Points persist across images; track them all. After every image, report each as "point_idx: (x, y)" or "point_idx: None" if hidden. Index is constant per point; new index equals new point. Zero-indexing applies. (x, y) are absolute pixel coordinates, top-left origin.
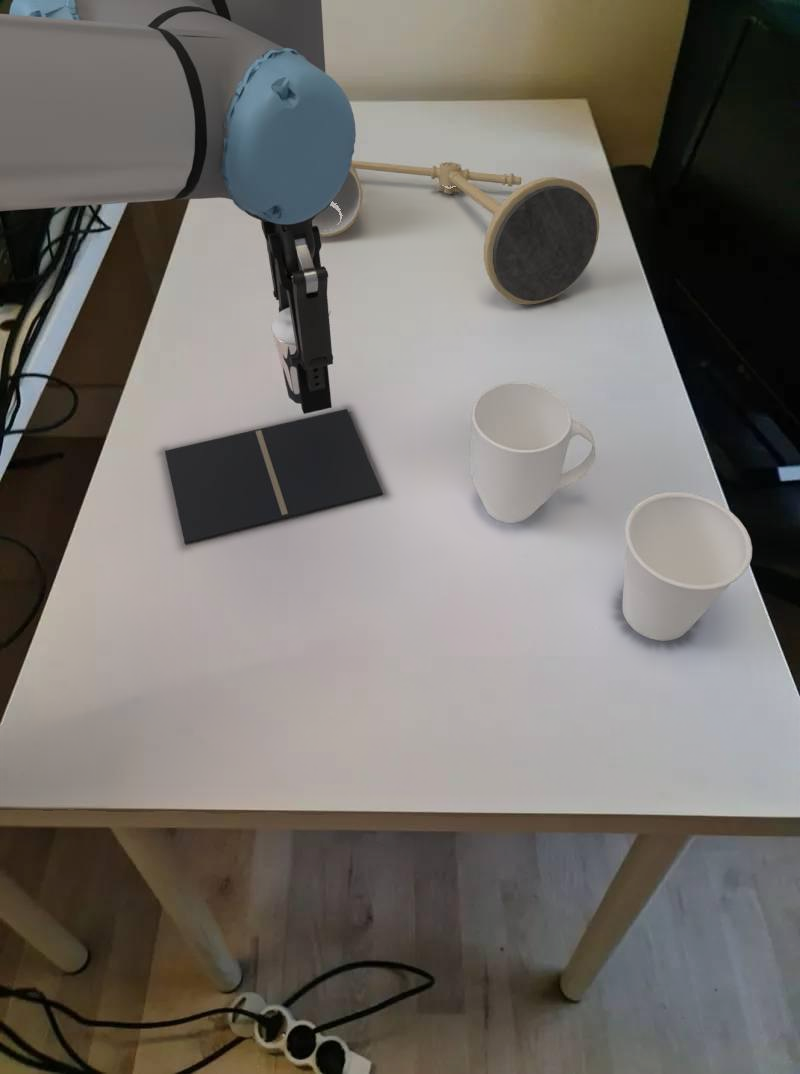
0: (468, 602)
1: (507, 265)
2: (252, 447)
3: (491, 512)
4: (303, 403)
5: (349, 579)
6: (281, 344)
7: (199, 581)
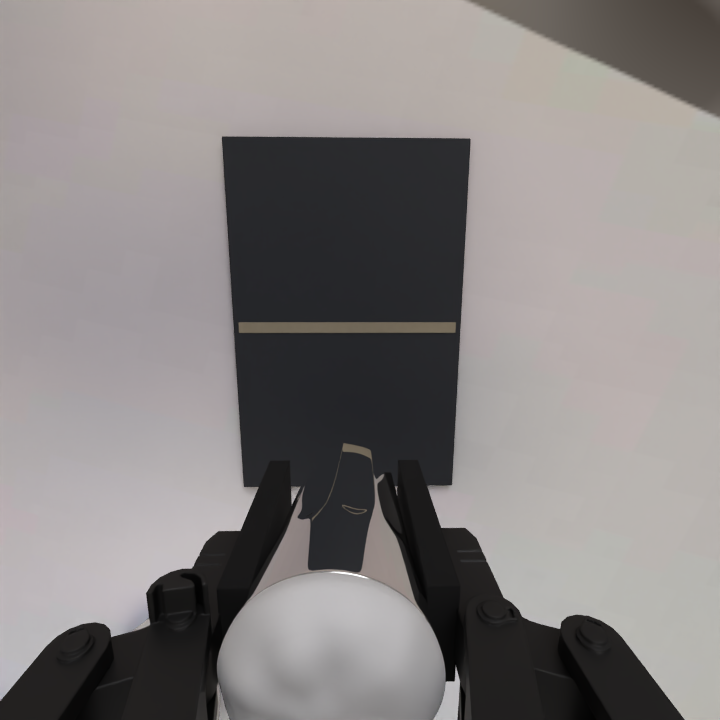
0: (15, 534)
1: None
2: (417, 308)
3: (144, 622)
4: (263, 479)
5: (88, 391)
6: (267, 577)
7: (135, 149)
